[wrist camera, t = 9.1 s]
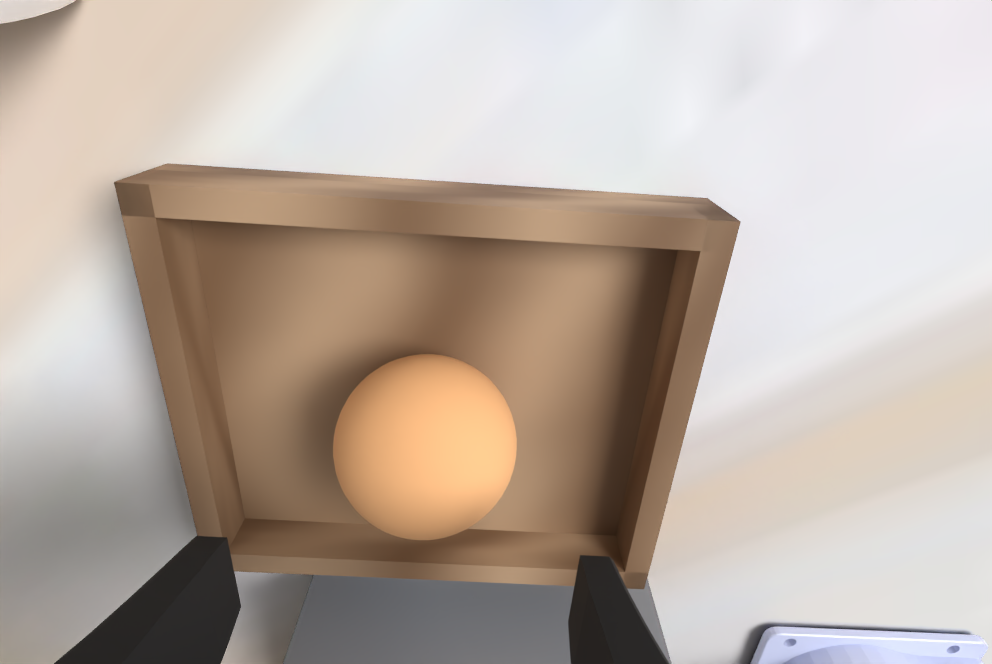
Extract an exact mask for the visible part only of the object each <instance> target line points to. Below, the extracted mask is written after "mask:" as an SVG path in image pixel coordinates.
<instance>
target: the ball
mask: <svg viewBox="0 0 992 664" xmlns="http://www.w3.org/2000/svg"><path fill="white" fill-rule="evenodd" d="M516 451H517V437H516V430H515V424H514V420H513V417H512V414H511V411H510V409H509V407H508V405H507V402H506V400H505V398H504V397H503V395H502V394H501V393H500V391H499V390H498V388H497V387H496V386H495V385H494V384H493V383H492V381H491V380H490V379H489V378H488V377H486V376H485V375H484V374H483V373H482V372H480V371H479V370H477V369H476V368H474V367H473V366H471V365H469V364H467V363H465V362H463V361H461V360H458V359H455V358H452V357H448V356H443V355H435V354H419V355H411V356H407V357H403V358H399V359H396V360H394V361H391V362H389V363H387V364H385V365H383V366H381V367H379V368H378V369H376V370H375V371H373V372H372V373H371V374H369V375H368V376H367V377H366V378H365V379H364V380H363V381H361V382H360V383H359V385H358V386H357V387H356V388H355V389H354V390H353V392H352V393H351V394H350V396H349V397H348V399H347V401H346V403H345V405H344V406H343V408H342V410H341V412H340V415H339V418H338V421H337V424H336V428H335V433H334V440H333V458H334V465H335V471H336V475H337V478H338V481H339V483H340V486H341V488H342V490H343V492H344V494H345V496H346V498H347V499H348V500H349V502H350V503H351V505H352V506H353V508H354V509H355V510H356V511H357V512H358V513H359V514H360V515H361V516H362V517H363V518H364V519H365V520H367V521H368V522H369V523H371V524H372V525H374V526H375V527H377V528H378V529H380V530H382V531H384V532H386V533H388V534H391V535H393V536H397V537H400V538H405V539H411V540H435V539H441V538H445V537H449V536H452V535H454V534H457V533H459V532H462V531H464V530H466V529H468V528H469V527H471V526H473V525H474V524H476V523H477V522H478V521H480V520H481V519H482V518H483V517H485V516H486V515H487V514H488V513H489V512H490V511H491V510H492V509H493V507H494V506H495V505H496V504H497V502H498V501H499V500H500V498H501V497H502V495H503V493H504V492H505V490H506V488H507V486H508V484H509V482H510V479H511V476H512V473H513V470H514V466H515V460H516Z"/></svg>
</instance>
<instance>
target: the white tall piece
mask: <svg viewBox="0 0 992 664" xmlns="http://www.w3.org/2000/svg"><path fill="white" fill-rule="evenodd" d="M74 1H75V0H0V24H1V23H9V22H14V21H19V20H23V19H28V18H32V17H36V16H39V15H42V14H46V13H49V12H52V11H55V10H58V9H60V8H63V7H65V6H67V5H69V4H71V3H72V2H74Z"/></svg>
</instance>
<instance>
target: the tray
mask: <svg viewBox="0 0 992 664" xmlns="http://www.w3.org/2000/svg"><path fill="white" fill-rule="evenodd" d="M114 184H115V188H116V192H117V197H118V201H119V205H120V209H121V214H122V218H123V222H124V226H125V231H126V235H127V239H128V243H129V248H130V252H131V256H132V260H133V264H134V269H135V273H136V277H137V281H138V286H139V290H140V294H141V298H142V303H143V307H144V311H145V315H146V320H147V324H148V328H149V332H150V337H151V341H152V345H153V349H154V353H155V358H156V362H157V366H158V370H159V375H160V379H161V383H162V387H163V392H164V396H165V400H166V404H167V409H168V413H169V417H170V421H171V425H172V430H173V434H174V438H175V442H176V447H177V451H178V455H179V459H180V464H181V468H182V472H183V476H184V481H185V485H186V489H187V493H188V498H189V502H190V506H191V510H192V514H193V519H194V523H195V527H196V531H197V536H209V537H227V539H228V544H229V549H230V554H231V559H232V564H233V569H234V571H241V572H263V573H286V574H309V575H331V576H354V577H377V578H399V579H422V580H444V581H467V582H490V583H512V584H535V585H558V586H574V585H575V580H576V574H577V569H578V563H579V558H580V555H589V556H609V557H610V558H611V559H612V560H613V561H614V563H615V565H616V567H617V569H618V571H619V573H620V575H621V577H622V579H623V582H624V583H625V585H626V587H627V589H644V588H645V584H646V580H647V576H648V573H649V569H650V565H651V561H652V557H653V553H654V550H655V546H656V542H657V538H658V534H659V531H660V527H661V523H662V519H663V515H664V512H665V508H666V504H667V500H668V496H669V492H670V489H671V485H672V481H673V477H674V473H675V470H676V466H677V462H678V458H679V454H680V450H681V447H682V443H683V439H684V435H685V431H686V428H687V424H688V420H689V416H690V412H691V409H692V405H693V401H694V397H695V393H696V389H697V386H698V382H699V378H700V374H701V370H702V367H703V363H704V359H705V355H706V351H707V347H708V344H709V340H710V336H711V332H712V328H713V325H714V321H715V317H716V313H717V309H718V306H719V302H720V298H721V294H722V290H723V286H724V283H725V279H726V275H727V271H728V267H729V264H730V260H731V256H732V252H733V248H734V245H735V241H736V237H737V233H738V229H739V225H740V221H739V220H737V219H736V218H735V217H733V216H732V215H730V214H729V213H727V212H726V211H725V210H723V209H722V208H720V207H719V206H718V205H716V204H715V203H713V202H712V201H710V200H709V199H708V198H694V197H678V196H663V195H647V194H631V193H616V192H600V191H585V190H569V189H554V188H538V187H522V186H507V185H491V184H476V183H460V182H445V181H429V180H414V179H398V178H382V177H367V176H351V175H336V174H320V173H305V172H289V171H273V170H258V169H242V168H227V167H211V166H196V165H180V164H165V165H162V166H159V167H156V168H153V169H150V170H147V171H144V172H142V173H139V174H136V175H133V176H130V177H127V178H124V179H122V180H119V181H116V182H114ZM419 354H435V355H443V356H448V357H452V358H455V359H458V360H461V361H463V362H465V363H467V364H469V365H471V366H473V367H474V368H476V369H477V370H479V371H480V372H482V373H483V374H484V375H485V376H486V377H488V378H489V379H490V380H491V381H492V383H493V384H494V385H495V386H496V387H497V388H498V390H499V391H500V393H501V394H502V395H503V397H504V398H505V400H506V402H507V405H508V407H509V409H510V411H511V414H512V417H513V420H514V424H515V430H516V437H517V451H516V460H515V466H514V470H513V473H512V476H511V479H510V482H509V484H508V486H507V488H506V490H505V492H504V493H503V495H502V497H501V498H500V500H499V501H498V502H497V504H496V505H495V506H494V507H493V509H492V510H491V511H490V512H489V513H488V514H487V515H486V516H485V517H483V518H482V519H481V520H480V521H478V522H477V523H476V524H474V525H473V526H471V527H469V528H468V529H466V530H464V531H462V532H459V533H457V534H454V535H452V536H449V537H445V538H441V539H435V540H411V539H405V538H400V537H397V536H393V535H391V534H388V533H386V532H384V531H382V530H380V529H378V528H377V527H375V526H374V525H372V524H371V523H369V522H368V521H367V520H365V519H364V518H363V517H362V516H361V515H360V514H359V513H358V512H357V511H356V510H355V509H354V508H353V506H352V505H351V503H350V502H349V500H348V499H347V498H346V496H345V494H344V492H343V490H342V488H341V486H340V483H339V481H338V478H337V475H336V471H335V465H334V458H333V440H334V433H335V428H336V424H337V421H338V418H339V415H340V412H341V410H342V408H343V406H344V405H345V403H346V401H347V399H348V397H349V396H350V394H351V393H352V392H353V390H354V389H355V388H356V387H357V386H358V385H359V383H360V382H361V381H363V380H364V379H365V378H366V377H367V376H368V375H369V374H371V373H372V372H373V371H375V370H376V369H378V368H379V367H381V366H383V365H385V364H387V363H389V362H391V361H394V360H396V359H399V358H403V357H407V356H411V355H419Z"/></svg>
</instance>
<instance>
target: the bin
mask: <svg viewBox="0 0 992 664" xmlns="http://www.w3.org/2000/svg"><path fill="white" fill-rule="evenodd" d="M573 591H574V586H558V585H535V584H512V583H490V582H467V581H444V580H422V579H399V578H377V577H354V576H331V575H313V578H312V581H311V584H310V587H309V589H308V592H307V595H306V598H305V601H304V604H303V607H302V610H301V612H300V615H299V618H298V621H297V624H296V627H295V630H294V633H293V636H292V638H291V641H290V644H289V647H288V650H287V653H286V656H285V659H284V661H283V664H571V659H570V645H569V630H568V619H569V613H570V608H571V602H572V597H573ZM628 591H629V593H630V595H631V597H632V599H633V601H634V603H635V605H636V607H637V608H638V610H639V612H640V614H641V616H642V618H643V619H644V621H645V623H646V625H647V626H648V628H649V630H650V632H651V633H652V635H653V637H654V639H655V640H656V642H657V644H658V645H659V647H660V649H661V650H662V652H663V654H664V655H665V657H666V659H667V660H668V662H669V663H670V664H671V660H670V657H669V653H668V650H667V646H666V643H665V639H664V636H663V632H662V629H661V625H660V622H659V618H658V615H657V611H656V608H655V604H654V601H653V597H652V594H651V590H650V587H649V583H648V580H646V584H645V588H644V589H628Z"/></svg>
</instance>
